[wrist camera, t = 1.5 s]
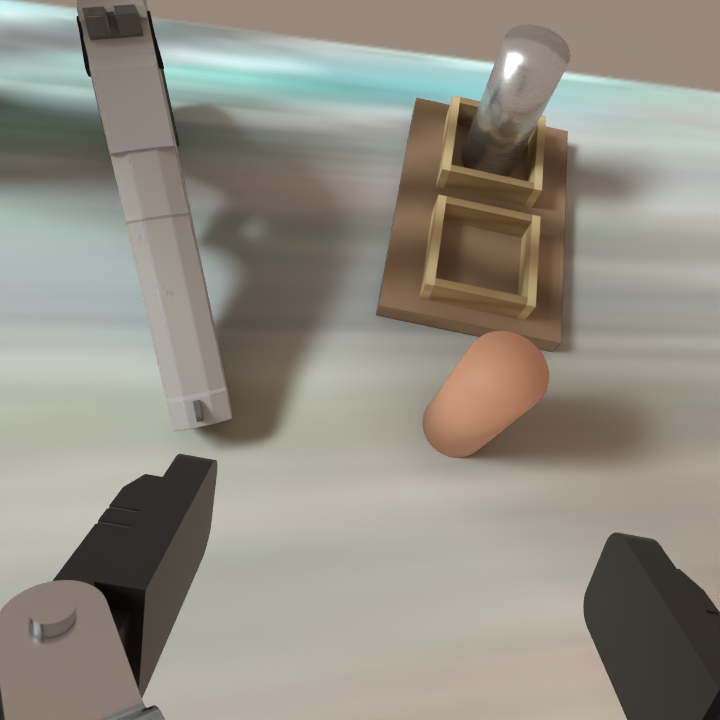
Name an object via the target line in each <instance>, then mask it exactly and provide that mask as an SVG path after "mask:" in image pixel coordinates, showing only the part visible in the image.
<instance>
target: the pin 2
mask: <svg viewBox="0 0 720 720" xmlns="http://www.w3.org/2000/svg"><path fill="white" fill-rule="evenodd" d="M548 383H549V371H548V366H547V363H546V361H545V359H544V357H543V355H542V353H541V352H540V351H539V349H538V348H537V347H536V346H535V345H534V344H533V343H532V342H530V341H529V340H528V339H526V338H525V337H523V336H521V335H518V334H516V333H512V332H508V331H494V332H490V333H487V334H484V335H482V336H481V337H479V338H478V339H477V340H475V341H474V343H473V344H472V345H471V346H470V348H469V349H468V351H467V352H466V353H465V355H464V356H463V358H462V359H461V360H460V362H459V363H458V365H457V366H456V367H455V369H454V370H453V372H452V373H451V374H450V376H449V377H448V379H447V380H446V382H445V383H444V384H443V386H442V387H441V389H440V390H439V391H438V393H437V394H436V396H435V397H434V398H433V400H432V401H431V403H430V404H429V405H428V407H427V409H426V411H425V413H424V417H423V429H424V433H425V436H426V438H427V440H428V441H429V443H430V444H431V445H432V446H433V447H434V448H435V449H436V450H437V451H439V452H440V453H442V454H444V455H446V456H449V457H455V458H462V457H467V456H470V455H472V454H474V453H475V452H477V451H478V450H479V449H480V448H482V447H483V446H484V445H485V444H487V443H488V442H489V441H490V440H492V439H493V438H494V437H495V436H497V435H498V434H499V433H500V432H502V431H503V430H504V429H505V428H507V427H508V426H509V425H510V424H512V423H513V422H514V421H515V420H517V419H518V418H519V417H520V416H521V415H523V414H524V413H525V412H526V411H528V410H529V409H530V408H531V407H533V406H534V405H535V404H536V403H538V402H539V401H540V400H541V398H542V397H543V396H544V394H545V392H546V390H547V387H548Z"/></svg>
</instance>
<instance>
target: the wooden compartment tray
mask: <svg viewBox="0 0 720 720" xmlns="http://www.w3.org/2000/svg"><path fill="white" fill-rule="evenodd" d="M479 104H480V102H479V101H475V100H470V99H466V98H461V97H457V96H453V97H452V100H451V103H450V105H447V104H442V103H438V102H433V101H429V100H424V99H420V98H416V102H415V106H414V110H413V115H412V120H411V126H410V131H409V137H408V142H407V148H406V153H405V159H404V164H403V170H402V175H401V181H400V186H399V192H398V197H397V203H396V208H395V214H394V219H393V225H392V230H391V236H390V241H389V247H388V252H387V258H386V263H385V269H384V274H383V280H382V285H381V291H380V296H379V302H378V307H377V313H376V315H378V316H383V317H388V318H393V319H398V320H402V321H407V322H412V323H417V324H422V325H426V326H431V327H436V328H441V329H446V330H450V331H455V332H460V333H465V334H470V335H475V336H479V337H481V336H482V335H484V334H487V333H490V332H494V331H508V332H512V333H516V334H518V335H521V336H523V337H525V338H526V339H528V340H529V341H530V342H532V343H533V344H534V345H535V346H536V347H537V348H538V349H542V350H547V351H553V350H554V349H555V348H556V347H557V346H558V345H560V344H561V330H562V298H563V265H564V233H565V201H566V169H567V137H568V131H564V130H559V129H555V128H550V127H546V126H545V122H546V116H542V115H541V117H540V119H539V121H538V123H537V125H536V127H535V129H534V131H533V133H532V135H531V136H530V138H529V140H528V142H527V144H526V146H525V148H524V150H523V152H522V154H521V156H520V158H519V160H518V162H517V163H516V165H515V167H514V169H513V171H512V173H511V174H510V175H509V176H508V177H506V176H501V175H496V174H492V173H487V172H483V171H478V170H474V169H469V168H465V167H464V165H463V163H462V160H461V151H462V148H463V146H464V143H465V140H466V138H467V135H468V132H469V130H470V127H471V125H472V122H473V119H474V117H475V114H476V112H477V109H478V106H479Z"/></svg>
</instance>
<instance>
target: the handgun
mask: <svg viewBox="0 0 720 720" xmlns="http://www.w3.org/2000/svg"><path fill="white" fill-rule="evenodd" d="M77 12H78V16H77V23H78V27H79V32H80V39H81V45H82V51H83V57H84V63H85V68H86V71H87V74H88V76H89V77H91V78H92V83H93V87H94V91H95V96H96V100H97V104H98V109H99V113H100V117H101V122H102V126H103V131H104V135H105V139H106V144H107V148H108V152H109V154H110V156H111V160H112V165H113V169H114V174H115V178H116V182H117V187H118V191H119V195H120V200H121V204H122V209H123V213H124V217H125V222H126V225H127V229H128V234H129V238H130V243H131V247H132V251H133V256H134V260H135V264H136V269H137V273H138V278H139V282H140V286H141V291H142V295H143V299H144V304H145V308H146V313H147V317H148V321H149V326H150V330H151V334H152V339H153V343H154V348H155V352H156V356H157V361H158V365H159V370H160V374H161V378H162V383H163V387H164V392H165V396H166V401H167V406H168V410H169V414H170V419H171V423H172V428H173V431H179V430H187V429H192V428H197V427H202V426H206V425H211V424H216V423H219V422H222V421H226V420H229V419H232V409H231V402H230V396H229V391H228V387H227V382H226V377H225V372H224V368H223V363H222V359H221V354H220V349H219V344H218V340H217V335H216V330H215V325H214V321H213V316H212V311H211V306H210V302H209V297H208V292H207V287H206V283H205V278H204V273H203V268H202V264H201V259H200V254H199V249H198V245H197V240H196V235H195V230H194V226H193V221H192V216H191V211H190V206H189V202H188V197H187V192H186V187H185V183H184V178H183V173H182V168H181V164H180V159H179V154H178V149H177V146H179V142H178V137H177V132H176V127H175V122H174V118H173V113H172V108H171V103H170V99H169V94H168V89H167V84H166V80H165V75H164V70H163V69H164V66H163V62H162V58H161V55H160V51H159V48H158V44H157V41H156V37H155V33H154V29H153V24H152V19H151V15H150V11H148V7H147V2H146V0H77Z"/></svg>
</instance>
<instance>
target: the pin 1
mask: <svg viewBox="0 0 720 720" xmlns="http://www.w3.org/2000/svg"><path fill="white" fill-rule="evenodd" d="M569 61H570V50H569V47H568V45H567V44H566V42H565V41H564V40H563V39H562V38H561V37H560V36H559V35H558V34H556V33H555V32H553V31H551V30H549V29H547V28H545V27H542V26H538V25H520V26H517V27H514V28H512V29H511V30H510V31H509V32H508V33H507V34H506V36H505V38H504V41H503V44H502V46H501V49H500V51H499V54H498V57H497V59H496V62H495V64H494V67H493V70H492V72H491V75H490V77H489V80H488V83H487V85H486V88H485V91H484V93H483V96H482V98H481V101H480V104H479V106H478V109H477V112H476V114H475V117H474V119H473V122H472V125H471V127H470V130H469V132H468V135H467V138H466V140H465V143H464V146H463V148H462V151H461V160H462V163H463V165H464V167H465V168H469V169H474V170H478V171H483V172H487V173H492V174H496V175H501V176H506V177H508V176H509V175H510V174H511V173H512V171H513V169H514V167H515V165H516V163H517V162H518V160H519V158H520V156H521V154H522V152H523V150H524V148H525V146H526V144H527V142H528V140H529V138H530V136H531V135H532V133H533V131H534V129H535V127H536V125H537V123H538V121H539V119H540V117H541V115H542V113H543V111H544V109H545V108H546V106H547V104H548V102H549V100H550V98H551V96H552V94H553V92H554V90H555V88H556V86H557V84H558V82H559V81H560V79H561V77H562V75H563V73H564V71H565V69H566V67H567V65H568V63H569Z"/></svg>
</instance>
